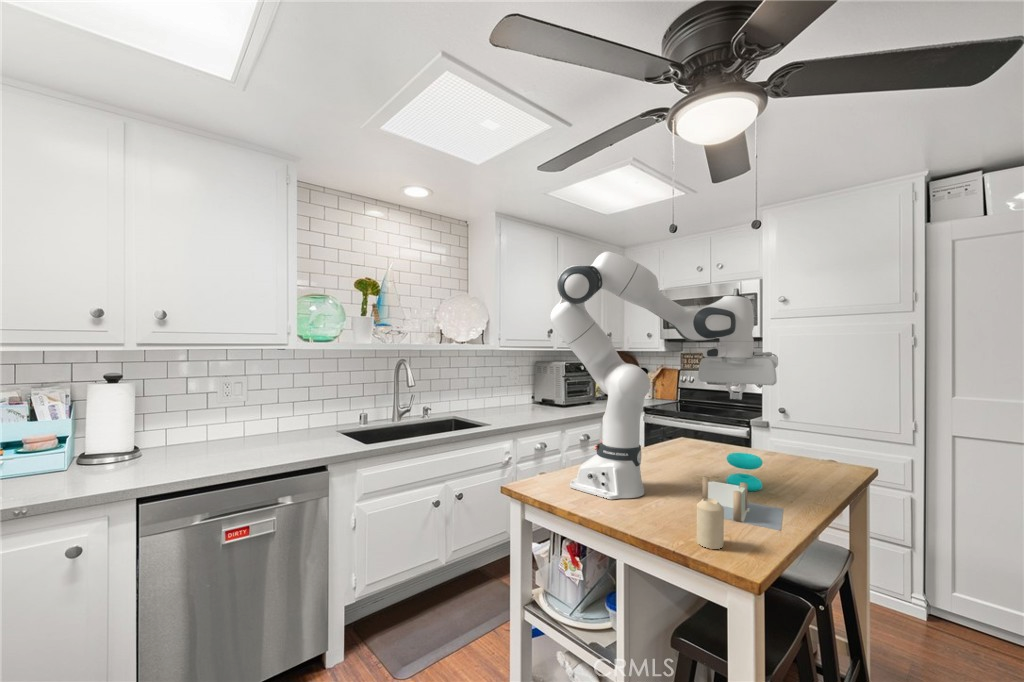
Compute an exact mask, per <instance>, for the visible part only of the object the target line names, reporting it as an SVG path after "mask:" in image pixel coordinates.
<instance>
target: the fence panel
mask: <svg viewBox="0 0 1024 682" xmlns="http://www.w3.org/2000/svg"><path fill="white" fill-rule="evenodd" d="M744 511H745V488H743V487H740V488H739V490H738V491H734V494H733V519H734V520H736V521H735V522H737V521H741V517H742V515H743V513H744Z"/></svg>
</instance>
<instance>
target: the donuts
mask: <svg viewBox="0 0 1024 682" xmlns="http://www.w3.org/2000/svg"><path fill="white" fill-rule="evenodd" d="M726 461H727V463H728V464H729V465H731V466H732V467H734V468H737V469H742V470H748V471H749V470H757V469H760V468H761V467H762V466H763V459H762V458H761V457H760V456H758V455H756V454H752V453H745V452H731V453H729V454H727V456H726ZM741 482H742V483H747V492H757V491H760V490H761V489H762V488H763V482H762V481H761V479H759V478H758V477H757V476H754V475H752V474H748V473H732V474H730V475H728V476H727V478H726V484H731V485H737V486H740V483H741Z"/></svg>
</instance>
